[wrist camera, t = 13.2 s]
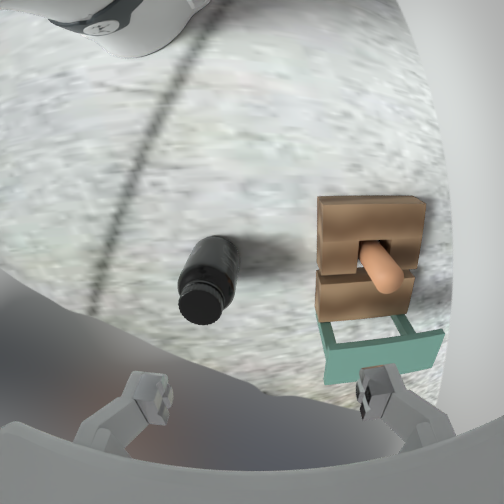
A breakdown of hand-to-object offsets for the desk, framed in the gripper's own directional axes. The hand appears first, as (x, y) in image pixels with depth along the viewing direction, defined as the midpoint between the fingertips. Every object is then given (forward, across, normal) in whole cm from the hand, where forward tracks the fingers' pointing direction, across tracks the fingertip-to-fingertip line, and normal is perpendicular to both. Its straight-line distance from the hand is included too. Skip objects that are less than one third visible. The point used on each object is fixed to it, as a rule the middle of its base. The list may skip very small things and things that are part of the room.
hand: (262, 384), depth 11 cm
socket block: (+29, -14, +8) cm, 33 cm away
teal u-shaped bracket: (+29, -14, +16) cm, 36 cm away
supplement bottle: (+29, +7, +8) cm, 31 cm away
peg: (+29, -14, +7) cm, 33 cm away
